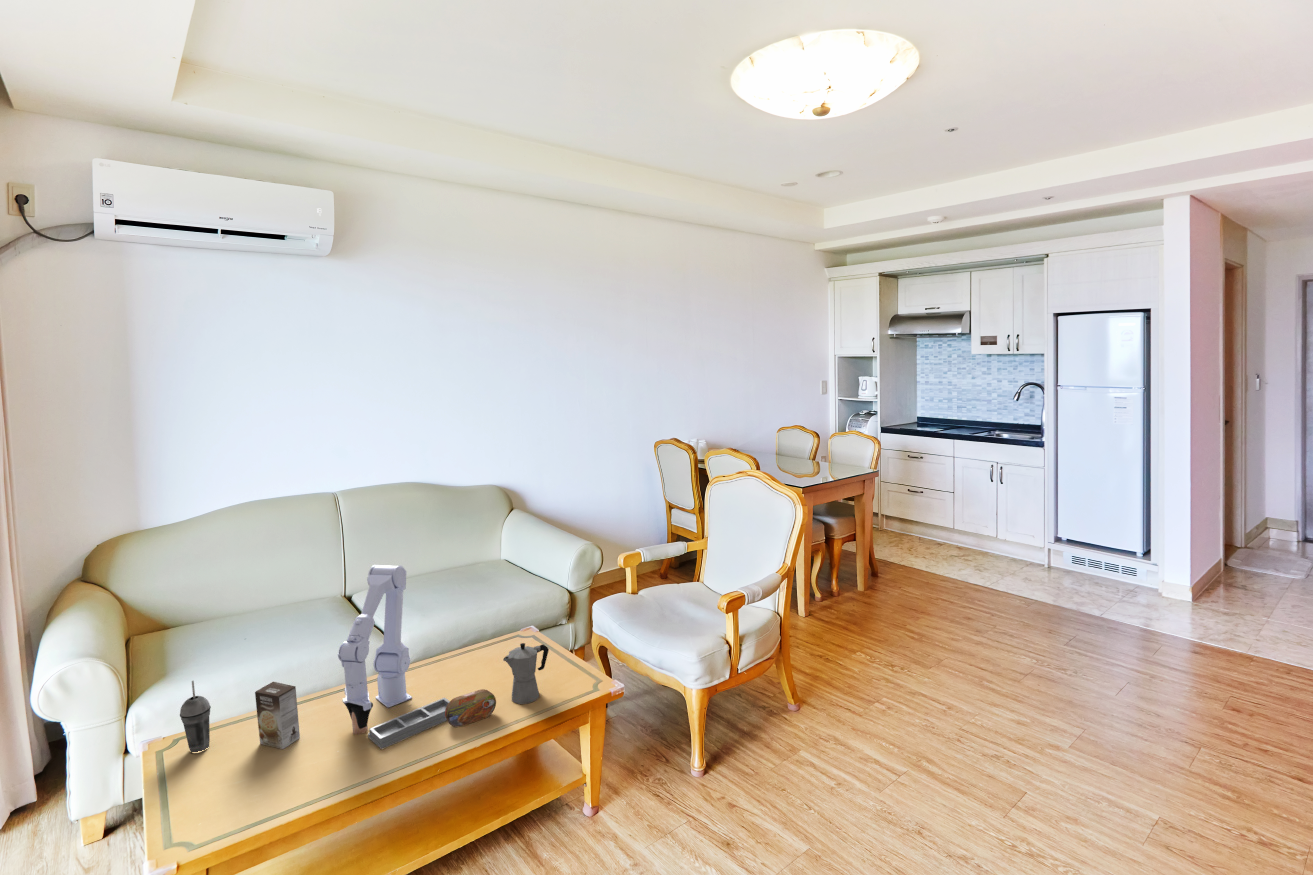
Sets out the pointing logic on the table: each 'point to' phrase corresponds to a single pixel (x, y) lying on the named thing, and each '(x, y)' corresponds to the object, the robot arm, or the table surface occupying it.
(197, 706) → the beverage cup
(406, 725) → the grey compartment tray
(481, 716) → the tin
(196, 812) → the table surface
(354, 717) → the tan rounded cylinder
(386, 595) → the robot arm
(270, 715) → the coffee box
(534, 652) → the coffeepot
